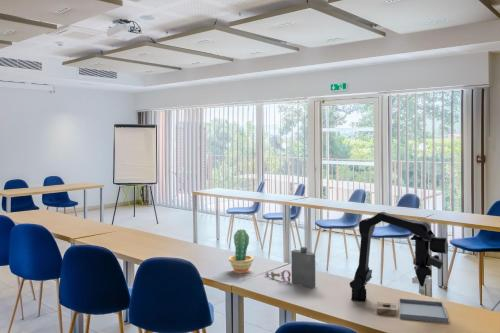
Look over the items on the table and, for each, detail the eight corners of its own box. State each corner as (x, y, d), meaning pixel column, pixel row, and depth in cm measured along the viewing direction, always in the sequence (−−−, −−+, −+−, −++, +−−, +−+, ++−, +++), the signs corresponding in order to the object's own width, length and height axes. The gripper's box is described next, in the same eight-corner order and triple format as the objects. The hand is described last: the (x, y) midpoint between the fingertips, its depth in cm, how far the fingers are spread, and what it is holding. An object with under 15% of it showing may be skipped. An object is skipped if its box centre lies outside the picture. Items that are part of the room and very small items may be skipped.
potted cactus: (257, 268, 265) (256, 227, 264) (250, 275, 251) (249, 232, 249) (233, 266, 270) (232, 226, 268) (225, 273, 255) (224, 231, 253)
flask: (318, 285, 231) (318, 248, 230) (311, 288, 227) (311, 250, 226) (296, 279, 241) (296, 244, 240) (289, 282, 237) (289, 246, 236)
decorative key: (265, 280, 251) (291, 282, 236) (264, 280, 250) (290, 282, 236) (264, 268, 251) (289, 269, 237) (262, 269, 250) (288, 270, 236)
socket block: (377, 313, 192) (377, 308, 192) (377, 307, 200) (377, 301, 199) (396, 315, 190) (396, 310, 189) (395, 308, 197) (395, 303, 197)
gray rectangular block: (412, 293, 192) (412, 277, 192) (412, 291, 195) (412, 276, 194) (431, 294, 190) (431, 279, 190) (431, 292, 192) (431, 277, 192)
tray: (399, 318, 187) (399, 313, 187) (398, 302, 205) (398, 298, 205) (448, 322, 181) (448, 318, 181) (442, 306, 199) (442, 302, 199)
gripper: (444, 257, 180) (444, 293, 181) (439, 246, 198) (438, 280, 199) (416, 255, 183) (415, 291, 184) (413, 245, 201) (413, 278, 202)
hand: (421, 285), depth 192 cm, fingers closed on gray rectangular block, 2 cm apart
